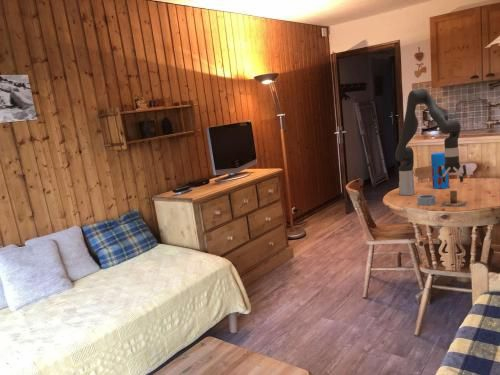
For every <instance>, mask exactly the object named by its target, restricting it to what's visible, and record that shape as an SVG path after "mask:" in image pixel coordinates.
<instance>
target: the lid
mask: <svg viewBox="0 0 500 375" xmlns="http://www.w3.org/2000/svg"><path fill="white" fill-rule="evenodd" d="M445 201H446V202H444V201H443V202H444V205H446V206H461V205H464V202H465V201H462V200H458V192H457V190H449V200H445Z"/></svg>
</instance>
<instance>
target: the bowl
mask: <svg viewBox="0 0 500 375" xmlns="http://www.w3.org/2000/svg"><path fill="white" fill-rule="evenodd" d="M416 197H417V198H416V201H417V205H418V206H422V207H423V206H424V207H425V206H434V205H436V204H437V200H436V198H437V197H436V195H434V194H421V195H418V196H416Z"/></svg>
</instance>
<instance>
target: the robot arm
mask: <svg viewBox="0 0 500 375" xmlns="http://www.w3.org/2000/svg"><path fill="white" fill-rule="evenodd" d="M421 104H423V105H425V106H426V107H427V108H428V114H429V117H430V118H431V119H432V120H433V121H434V122H435V123H436V124H437V127H438V129H439V131H440V132H441V133H443V134H445V135H447V134H449V135H448V137H446V138H445V139H444V140H443V141H444V143H443V145H444V151H443V152H444V155H445V166H441V165H440V166H439V176H442V177H443V182H444V183H446V176H445V175H446V174H447V173H448V172H449V174H450V173H451V174H452V173H454V174H455V173H457V174H458V176H459V182H460V183H461V184H462V183H463V182H464V176H466V175H467V165H466V164H465V163H464V164H460V151H459V137H460V133H461V128H462V127H461V124H460V122H459V121H458V120H449V116H448V114H447V113H446V112H445V110H443V109H441V107H440V106H439V105H438V104H437V103H436V101H435V100H434V98H433V97H432V95H431V94H430V92H429V91H428V90H427V89H425V88H418V89H413V90H411V91H410V92H408V95H407V101H406V109H405V115H404V119H403V124H402V127H401V132H400V137H399V141H398V143H397V147H396V149H395V153H394V156H395V160H396V161H397V162H403V164H401V165H400V166H399V167H398V176H399V178H398V179H399V181H398V188H399V190H398V191H399V196H413V195H415V181H414V178H415V177H414V165H415V164H414V162H415V161H414V160H415V159H414V156H415V155H414V154H415V153H414V150H413V148H412V147H411V146H408V144H409V142H410V141H411V140H412V139H413V138H414V136H415V135H416V133H417V131H418V127H419V120H418V117H417V115H416V110H417V109H416V108H417V105H421ZM448 120H449V121H448ZM443 168H445V169H446V171H445V173H444V174H442V169H443ZM460 168H461V169H462V170H463V172H462V171H461V170H460ZM460 183H459V184H460Z"/></svg>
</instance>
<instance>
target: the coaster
mask: <svg viewBox="0 0 500 375" xmlns="http://www.w3.org/2000/svg"><path fill="white" fill-rule="evenodd" d="M446 201H447V200H444V201H442V203H441V204H440V206H439V207H444V208H445V207H449V208H450V207H451V208H454V207H455V208H457V207H458V208H462V207H463V208H465V207H466V206H467V204H468V201H463V202H464V205H461V206H446V205H444V202H446Z"/></svg>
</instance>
